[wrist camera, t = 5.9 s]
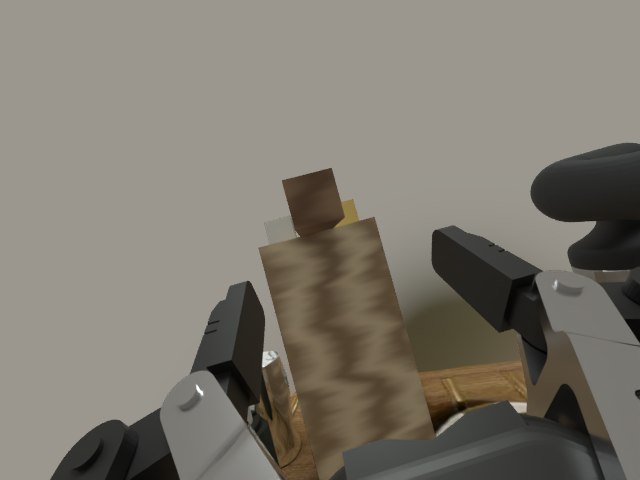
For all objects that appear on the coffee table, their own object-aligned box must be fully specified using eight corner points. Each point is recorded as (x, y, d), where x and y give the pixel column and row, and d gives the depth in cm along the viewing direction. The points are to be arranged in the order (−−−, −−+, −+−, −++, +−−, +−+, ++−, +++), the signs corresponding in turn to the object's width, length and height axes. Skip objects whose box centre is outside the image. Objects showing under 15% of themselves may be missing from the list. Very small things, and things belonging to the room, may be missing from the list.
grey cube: (298, 242, 39) (291, 219, 39) (296, 241, 35) (289, 215, 35) (274, 248, 38) (268, 225, 38) (270, 248, 34) (263, 222, 34)
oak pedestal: (401, 403, 40) (352, 227, 41) (449, 486, 26) (374, 216, 27) (324, 427, 39) (276, 248, 40) (331, 525, 25) (258, 247, 26)
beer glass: (301, 425, 41) (280, 344, 42) (307, 458, 34) (281, 361, 35) (262, 443, 40) (241, 358, 40) (261, 480, 33) (234, 378, 33)
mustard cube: (354, 226, 39) (348, 204, 39) (360, 224, 35) (352, 199, 35) (332, 232, 39) (326, 210, 39) (334, 230, 35) (327, 205, 35)
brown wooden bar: (325, 235, 41) (320, 213, 41) (345, 217, 18) (331, 167, 18) (304, 240, 41) (298, 219, 41) (295, 230, 18) (281, 180, 18)
